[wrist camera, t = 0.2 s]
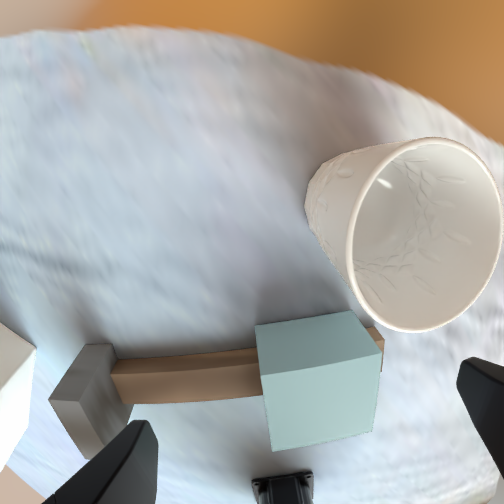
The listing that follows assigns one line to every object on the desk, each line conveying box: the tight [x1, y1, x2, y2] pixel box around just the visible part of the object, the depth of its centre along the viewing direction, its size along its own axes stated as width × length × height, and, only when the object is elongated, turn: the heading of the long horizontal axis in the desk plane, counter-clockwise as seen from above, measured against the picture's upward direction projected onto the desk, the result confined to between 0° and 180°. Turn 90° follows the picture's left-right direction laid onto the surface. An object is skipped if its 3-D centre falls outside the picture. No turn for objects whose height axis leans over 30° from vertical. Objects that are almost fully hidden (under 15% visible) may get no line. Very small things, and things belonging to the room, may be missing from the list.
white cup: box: [304, 137, 504, 333], centre depth 16 cm, size 8×8×10 cm
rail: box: [48, 327, 385, 460], centre depth 20 cm, size 6×22×7 cm, turn 97°
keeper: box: [255, 310, 382, 452], centre depth 20 cm, size 7×7×6 cm
